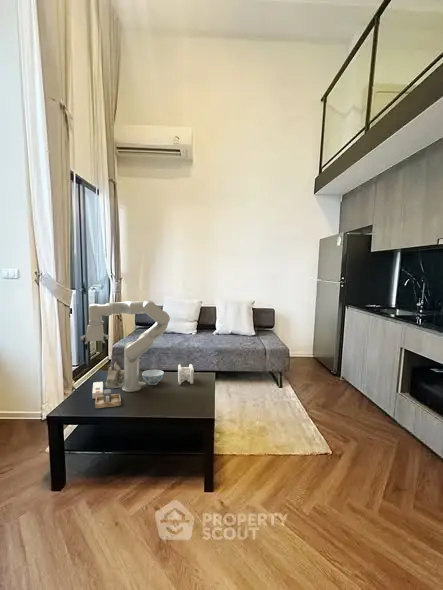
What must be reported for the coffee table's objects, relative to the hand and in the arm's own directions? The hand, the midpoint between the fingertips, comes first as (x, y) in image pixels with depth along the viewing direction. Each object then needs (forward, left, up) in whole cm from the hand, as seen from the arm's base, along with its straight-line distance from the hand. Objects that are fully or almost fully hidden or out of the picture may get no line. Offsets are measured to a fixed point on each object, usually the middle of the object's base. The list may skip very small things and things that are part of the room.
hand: (94, 349), depth 203 cm
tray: (-8, +22, -28) cm, 36 cm away
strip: (-2, +3, -28) cm, 28 cm away
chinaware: (-38, -4, -28) cm, 47 cm away
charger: (-7, +26, -24) cm, 36 cm away
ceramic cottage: (-15, -9, -28) cm, 33 cm away
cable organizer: (-61, -1, -28) cm, 67 cm away
